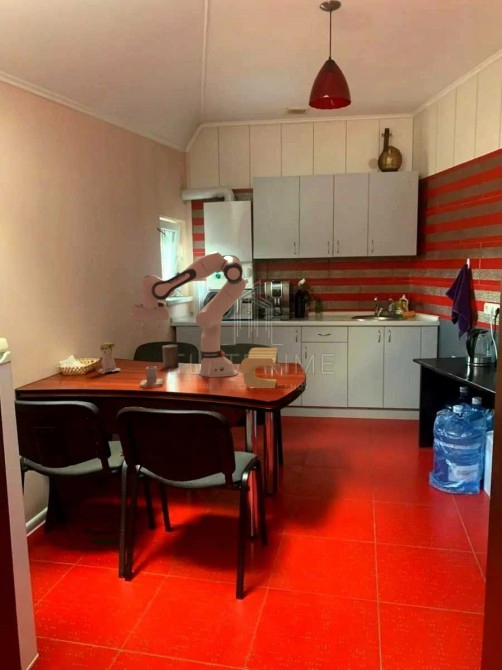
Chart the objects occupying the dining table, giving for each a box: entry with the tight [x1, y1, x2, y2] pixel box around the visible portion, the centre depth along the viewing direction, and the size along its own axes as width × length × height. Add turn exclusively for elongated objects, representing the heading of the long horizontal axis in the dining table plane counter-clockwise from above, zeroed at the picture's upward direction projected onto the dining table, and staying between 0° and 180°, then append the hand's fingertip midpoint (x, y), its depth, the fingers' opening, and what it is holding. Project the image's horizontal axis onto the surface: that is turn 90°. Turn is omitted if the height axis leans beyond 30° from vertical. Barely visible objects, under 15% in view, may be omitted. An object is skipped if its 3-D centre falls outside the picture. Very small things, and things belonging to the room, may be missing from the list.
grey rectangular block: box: [145, 365, 158, 383], centre depth 279 cm, size 5×5×8 cm
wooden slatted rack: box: [240, 347, 278, 389], centre depth 271 cm, size 30×16×18 cm, turn 172°
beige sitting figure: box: [98, 341, 121, 375], centre depth 312 cm, size 12×13×18 cm
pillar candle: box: [161, 344, 180, 369], centre depth 323 cm, size 10×10×15 cm
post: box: [139, 378, 165, 388], centre depth 279 cm, size 12×12×6 cm
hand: (151, 328), depth 290 cm, fingers open, 8 cm apart
